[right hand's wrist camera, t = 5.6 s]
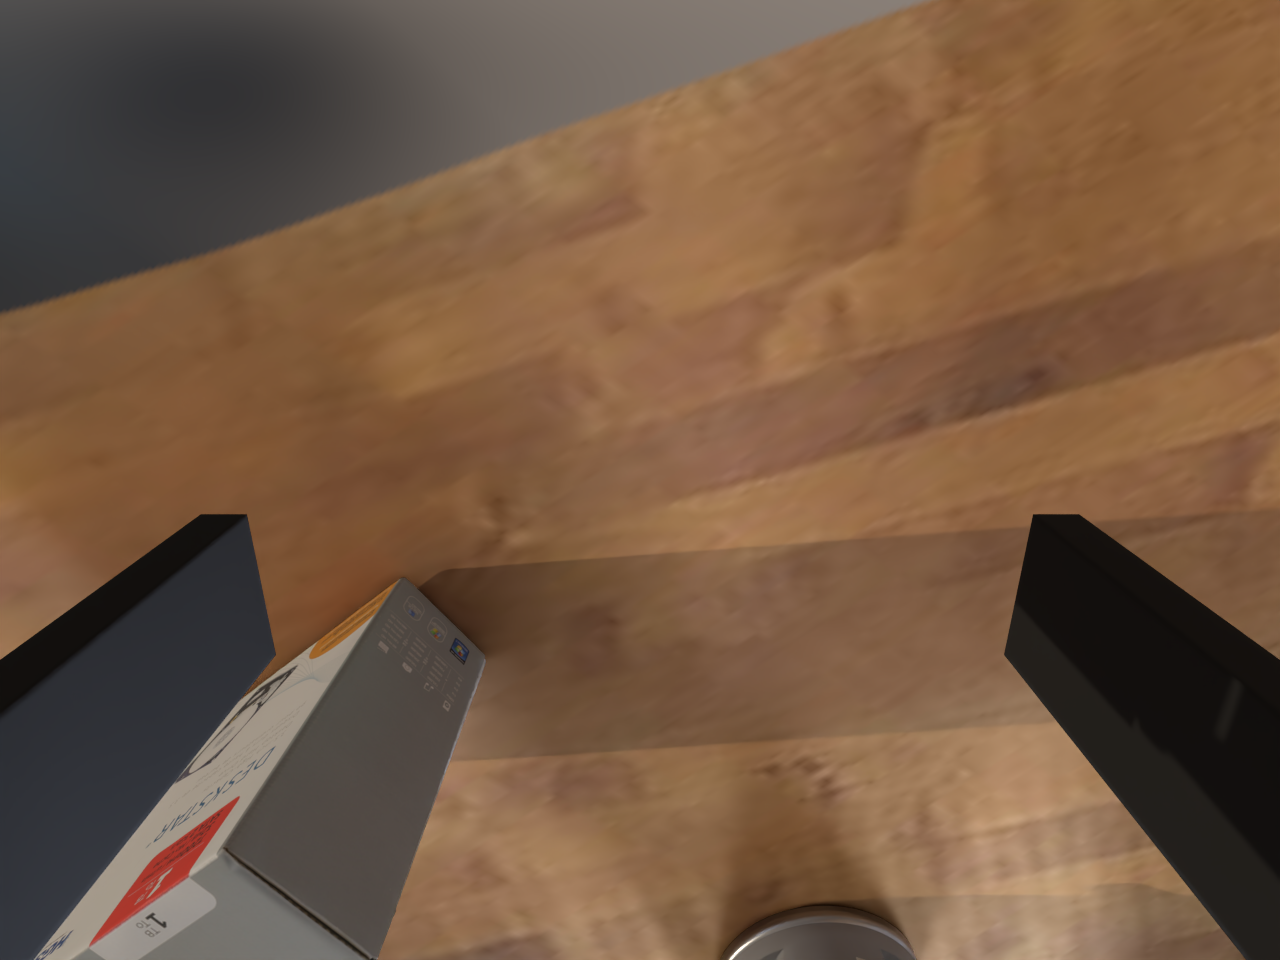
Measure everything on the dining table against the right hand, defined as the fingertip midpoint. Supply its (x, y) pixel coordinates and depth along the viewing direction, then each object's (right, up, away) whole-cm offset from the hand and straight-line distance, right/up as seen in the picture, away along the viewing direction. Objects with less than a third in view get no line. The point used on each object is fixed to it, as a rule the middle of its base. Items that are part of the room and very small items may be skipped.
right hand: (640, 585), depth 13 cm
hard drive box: (-18, -11, +34) cm, 40 cm away
